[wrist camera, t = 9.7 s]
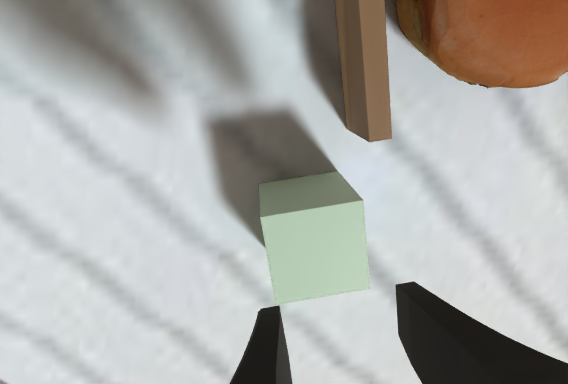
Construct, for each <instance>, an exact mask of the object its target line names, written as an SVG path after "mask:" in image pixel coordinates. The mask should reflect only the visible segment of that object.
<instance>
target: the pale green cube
mask: <svg viewBox="0 0 568 384" xmlns="http://www.w3.org/2000/svg"><path fill="white" fill-rule="evenodd" d="M259 202H260V219H261V225H262V230H263V236H264V241H265V247H266V252H267V258H268V263H269V269H270V274H271V280H272V286H273V291H274V297H275V302H276V305H279V304H285V303H290V302H296V301H302V300H308V299H314V298H319V297H325V296H331V295H337V294H342V293H348V292H354V291H360V290H365V289H370V281H369V269H368V256H367V243H366V230H365V217H364V204H363V199H362V198H361V197H360V196H359V195H358V194H357V193H356V191H355V190H354V189H353V188H352V187H351V186H350V185H349V183H348V182H347V181H346V180H345V179H344V178H343V176H342V175H341V174H340V173H339V172H338V171H334V172H328V173H322V174H316V175H309V176H303V177H297V178H291V179H285V180H279V181H272V182H266V183H260V184H259Z"/></svg>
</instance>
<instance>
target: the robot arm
mask: <svg viewBox="0 0 568 384" xmlns="http://www.w3.org/2000/svg"><path fill="white" fill-rule="evenodd" d="M396 300H397V317H398V334H399V337H400V340H401V342H402V344H403V347H404V349H405V351H406V354H407V356H408V358H409V360H410V363H411V365H412V366H413V368H414V370H415V372H416V373H417V375H418V377H419V379H420V380H421V382H422V384H568V363H565V362H563V361H560V360H557V359H555V358H553V357H550V356H548V355H545V354H543V353H541V352H538V351H536V350H534V349H532V348H530V347H528V346H525V345H523V344H521V343H519V342H517V341H514V340H512V339H510V338H508V337H506V336H504V335H502V334H500V333H499V332H497V331H495V330H493V329H491V328H489V327H487V326H486V325H484V324H482V323H480V322H478V321H477V320H475V319H473V318H471V317H470V316H468V315H466V314H465V313H463V312H461V311H460V310H458V309H456V308H455V307H453V306H451V305H450V304H448V303H447V302H445V301H444V300H442V299H440V298H439V297H437V296H436V295H434V294H433V293H431V292H430V291H428V290H426V289H425V288H423V287H422V286H420V285H419V284H417V283H415V282H408V283H403V284H397V285H396ZM230 384H292V378H291V370H290V363H289V355H288V350H287V345H286V339H285V334H284V328H283V323H282V318H281V312H280V307H279V306H274V307H268V308H263V309H260V311H259V312H258V315H257V319H256V323H255V326H254V329H253V332H252V335H251V337H250V340H249V343H248V345H247V347H246V350H245V352H244V355H243V357H242V359H241V362H240V364H239V366H238V368H237V370H236V372H235V374H234V376H233V378H232V380H231V382H230Z"/></svg>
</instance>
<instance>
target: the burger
mask: <svg viewBox="0 0 568 384" xmlns="http://www.w3.org/2000/svg"><path fill="white" fill-rule="evenodd" d="M395 3H396V7H397V15H398V21H399V24H400V27H401V29H402V31H403V32H404V34H405V35H406V37H407V38H408V39H409V40H410V41H411V43H412V44H413V45H414V46H415V47H416V48H417V49H418V50H419V51H420V52H421V53H423V54H424V55H425V56H426V57H427V58H428V59H429V60H431V61H432V62H433V63H434V64H436V65H437V66H438V67H439V68H440V69H442V70H443V71H445V72H446V73H447V74H449V75H451V76H454V77H455V78H456V79H458V80H460V81H464V82H467V83H469V84H470V85H477V84H479V85H480V86H484V87H487V88H491V87H507V88H530V87H538V86H542V85H546V84H549V83H552V82H554V81H556V80H558V78H559V77H560V76H561V75H563V74H564V73H566V72H567V71H568V0H395Z"/></svg>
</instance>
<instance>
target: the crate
mask: <svg viewBox="0 0 568 384" xmlns="http://www.w3.org/2000/svg"><path fill="white" fill-rule="evenodd" d="M335 9H336V19H337V30H338V40H339V51H340V62H341V72H342V83H343V93H344V104H345V114H346V125H347V129H348V130H349V131H351V132H353V133H355V134H356V135H358V136H360V137H361V138H363V139H365V140H367V141H368V142H374V141H380V140H386V139H392V130H391V111H390V93H389V74H388V56H387V37H386V19H385V0H335Z"/></svg>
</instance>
